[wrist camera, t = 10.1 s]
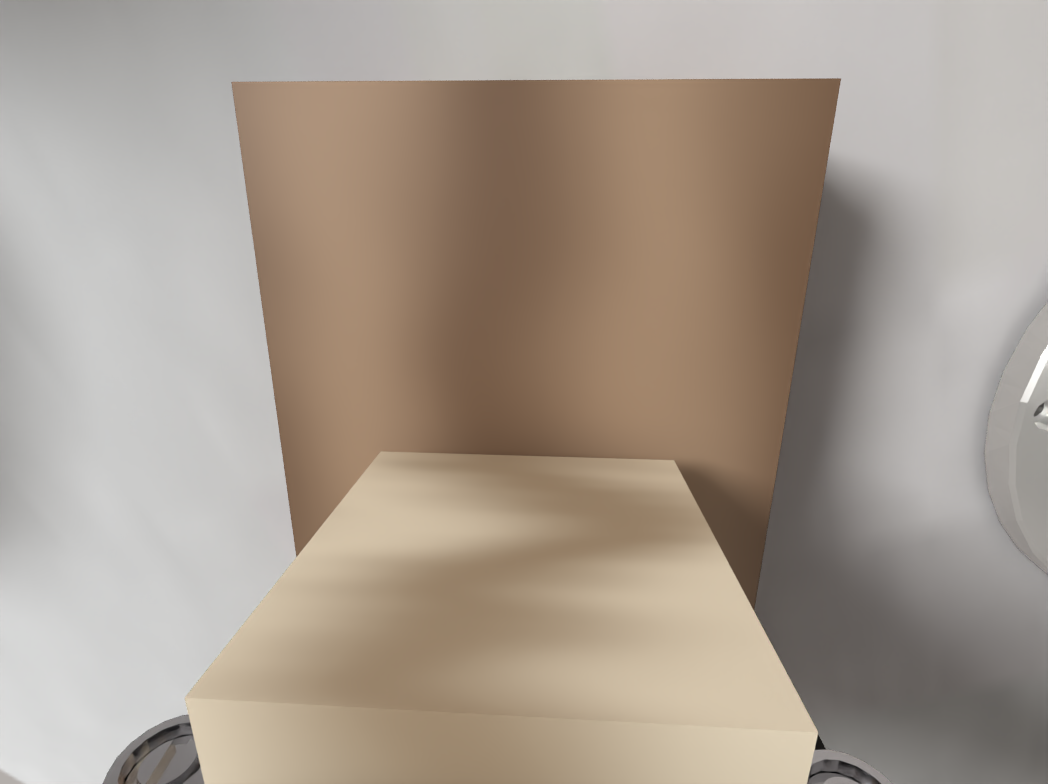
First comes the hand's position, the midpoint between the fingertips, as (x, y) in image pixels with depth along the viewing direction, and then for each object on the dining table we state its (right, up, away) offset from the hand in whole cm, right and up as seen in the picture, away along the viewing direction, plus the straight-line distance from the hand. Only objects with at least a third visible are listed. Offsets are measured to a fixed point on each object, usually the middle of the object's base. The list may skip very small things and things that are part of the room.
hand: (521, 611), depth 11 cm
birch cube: (0, 0, +1) cm, 1 cm away
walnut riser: (0, +2, +6) cm, 6 cm away
